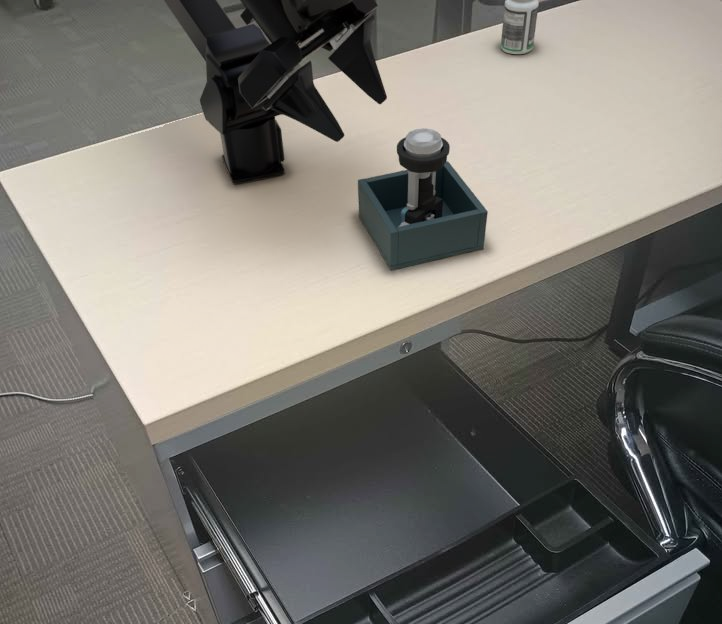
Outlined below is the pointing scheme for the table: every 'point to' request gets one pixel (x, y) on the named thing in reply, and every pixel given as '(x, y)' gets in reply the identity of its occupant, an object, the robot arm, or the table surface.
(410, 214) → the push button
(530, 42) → the pill bottle
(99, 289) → the table surface
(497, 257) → the table surface
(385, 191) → the bin
